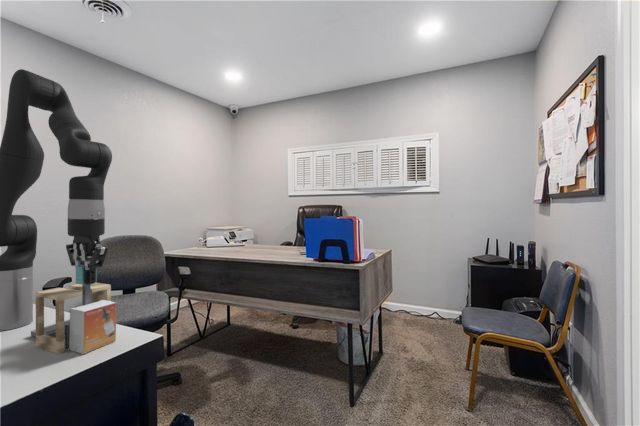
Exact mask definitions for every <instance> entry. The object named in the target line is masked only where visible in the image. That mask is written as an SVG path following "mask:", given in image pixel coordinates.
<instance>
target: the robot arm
mask: <svg viewBox="0 0 640 426" xmlns="http://www.w3.org/2000/svg"><path fill="white" fill-rule="evenodd" d="M8 89H9V90H8V99H7V109H6V118H5V124H4V130H3V135H2V139H1V143H0V248H2V247H3V248H4V247H7V248H6V250H5V251H4V252H3V253H2V254H1V255H0V332H1V331H7V330H8V331H9V330H13V329H17V328H21V327H25V326H27V325H29V324H31V323H33V322H34V267H33V266H34V260H35V258H36V256H37V242H38V226H37V223H36V221H35V220H34V219H33V217H31V216H30V215H26V214H25V215H24V214H13V212H14V208H15V206H16V204H17V202H18V200H19V199H20V198H21V196H22V195H24V194H25V193H26V191H28V190H29V188H31V187H32V186H33V185H34V184H35V183H36V182H37V181H38V179H39V178H40V176H41V174H42V170H43V165H44V160H45V152H44V149H43V147H42V145H41V143H40V141H39V139H38V138H37V136H36V134H35V132H34V131H33V129H32V125H31V123H30V119H29V108H30V107H32V108H36V109H39V110H42V111H48V112H50V113H51V114H50V115H49V118H48V123H47V124H48V127H49V129H50V131H51V133H52V134H53V136H54V137H55V138H56V140H57V143H58V146H59V147H58V148H59V156H60V159H61V160H62V161H63V162H64V163H65V164H67V165H69V166H71V167H78V168H85V169H86V168H87V169H90V171H89V172H88V174H87V175H80V176H79V175H78V176H73V177H71V178H70V179H69V182H68V205H67V235H68V236H70V237H73V239H72V243H70V244H66V245H65V249H66V252H67V253H66V254H67V255H68V256H67V257H68V260H69V262H70V265H71V266H72V267H74V268H75V269H76V266H80V265H85V284H87V285H89V284H94V283H95V282H96V269H97V270H98V269H99V268H102V267H103V265H104V262H105V259H106V256H107V253H108V251H109V248H108V246H103V245H102V244H101V243H102V242H101V239H100V236H102V235H105V233H106V232H105V230H106V229H105V228H106V227H105V226H106V223H105V221H106V219H105V217H106V213H105V212H106V208H105V201H104V200H105V199H104V197H105V196H104V195H105V191H104V187H105V182H106V178H107V175H108V173H109V171H110V170H109V169H110V167H111V165H112V162H113V154H112V150H111V149H110V147H109V146H108V145H107V144H105V143H102V142H99V141H98V142H97V141H92V139H91V138H92V137H91V134H90V132H89V131H88V129H87V128H86V127H85V126H84V124H83V122H81V121H80V119H79V118H78V117H77V114H76V112H75V110H74V108H73V105H72V104H73V103H71V100H70V98H69V95H68V93H67V91H66V90H65V88H64V87H63V86H62V85H61V84H60V83H58V82H56V81H54V80H53V79H50V78H47V77H44V76H42V75H39V74H37V73H34V72H32V71H30V70H26V69H21V68H20V69H17V70H16V71H15V72H14V73H13V75H12V77H11V80H10V84H9V88H8ZM96 283H97V282H96Z"/></svg>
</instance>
